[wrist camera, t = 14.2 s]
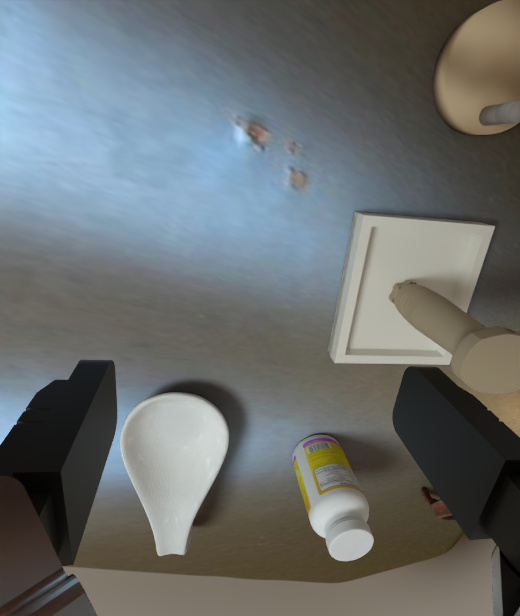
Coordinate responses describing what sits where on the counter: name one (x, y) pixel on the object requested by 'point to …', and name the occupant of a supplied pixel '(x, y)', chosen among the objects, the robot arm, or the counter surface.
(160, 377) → the counter surface
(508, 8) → the crank wheel
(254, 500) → the counter surface
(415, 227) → the tray
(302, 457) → the supplement bottle
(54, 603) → the robot arm
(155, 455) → the white spoon
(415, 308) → the handle
